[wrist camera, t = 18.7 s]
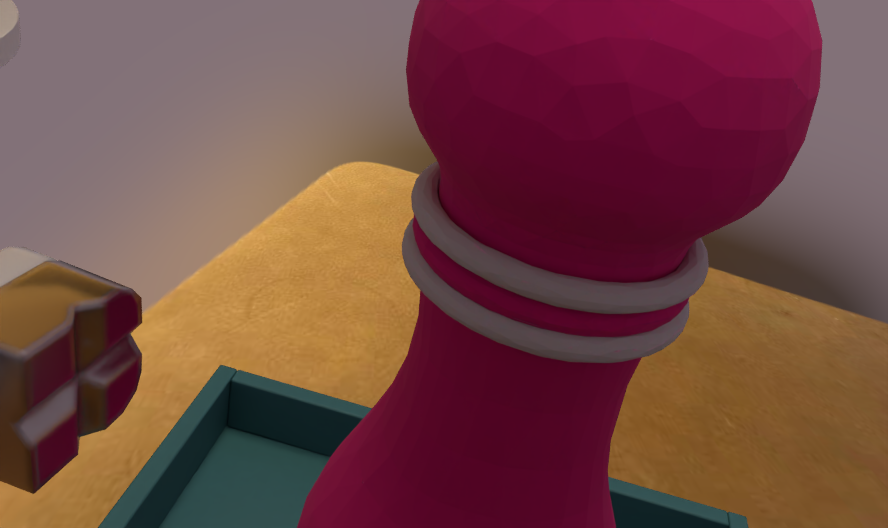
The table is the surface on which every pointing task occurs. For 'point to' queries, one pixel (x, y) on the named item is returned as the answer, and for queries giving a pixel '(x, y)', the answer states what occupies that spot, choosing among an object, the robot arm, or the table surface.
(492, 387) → the pepper mill
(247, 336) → the table surface
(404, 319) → the table surface
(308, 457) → the tray
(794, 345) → the table surface
